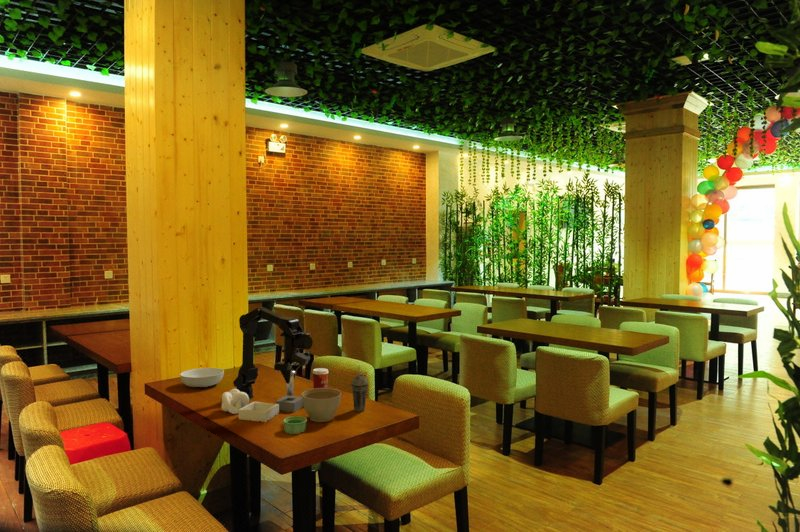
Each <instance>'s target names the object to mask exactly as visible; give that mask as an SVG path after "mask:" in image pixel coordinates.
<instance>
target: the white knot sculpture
mask: <svg viewBox="0 0 800 532" xmlns="http://www.w3.org/2000/svg"><path fill="white" fill-rule="evenodd" d="M221 401H222V402H221V410H222V411H223V412H228V413H230V414H232V415H237V414H239V409H241V408H243V407H245V406H246V405H248V404H250V399H249V397H248V395H247V394H246V393H244V392H240V391H239V390H238V389H237V388H232V389H230V390H228V391H225V392H223V393H222V395H221Z"/></svg>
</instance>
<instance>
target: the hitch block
mask: <svg viewBox="0 0 800 532" xmlns="http://www.w3.org/2000/svg"><path fill="white" fill-rule="evenodd" d="M275 404H279V410H282V411H281V412H288V411H291V412H290V413H296V412H298V411H299V410H300V409H302V408H304V406H303V400H302V396H294V395H292V396H288V395H284V396H282V397H281V398H278V399H277V400H275ZM301 407H302V408H301ZM298 409H299V410H298ZM295 411H296V412H295Z"/></svg>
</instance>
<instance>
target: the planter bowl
mask: <svg viewBox="0 0 800 532" xmlns="http://www.w3.org/2000/svg"><path fill="white" fill-rule="evenodd" d="M301 397H302V400H303V408H304V411H305V412H306V414H307V416H308V417H309V420H310V421H312V422H314V423H326V422H330V421H332V420H333V419H334V416H335V414H336V413H337V411H338V409H339V406H340V404H341V397H342V392H341V391H340V390H338V389H335V388H328V387H327V388H315V389H314V388H311V389H307V390H305V391H303V392H302V393H301Z"/></svg>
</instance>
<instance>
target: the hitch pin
mask: <svg viewBox="0 0 800 532" xmlns="http://www.w3.org/2000/svg"><path fill="white" fill-rule="evenodd" d="M294 374H296V375H297V372H296V371H295V370H292V371H291V374H290V381H289V384H287V383H286V396H294V389H295V388H294V387H295V385H294V383H295V378H294Z"/></svg>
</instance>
